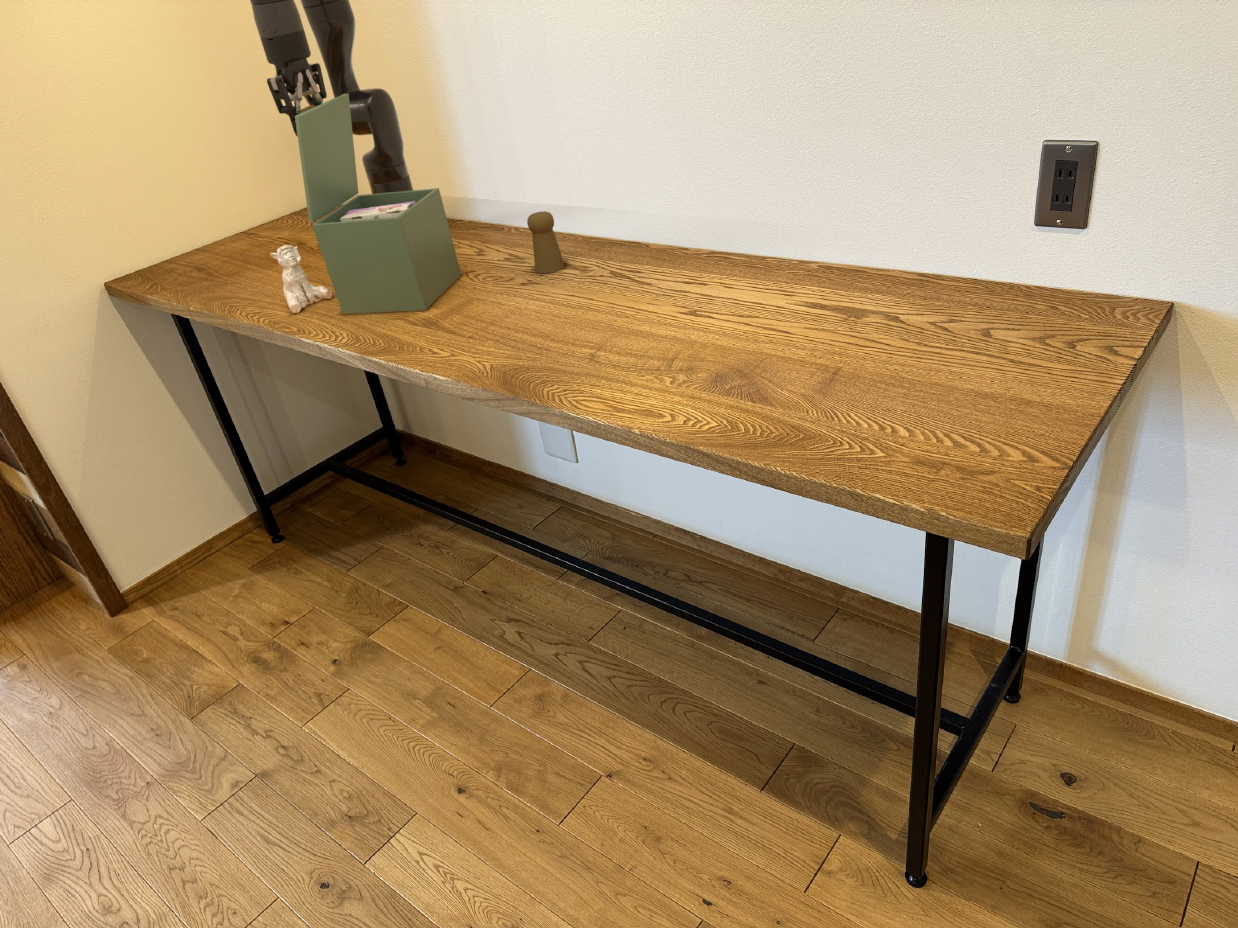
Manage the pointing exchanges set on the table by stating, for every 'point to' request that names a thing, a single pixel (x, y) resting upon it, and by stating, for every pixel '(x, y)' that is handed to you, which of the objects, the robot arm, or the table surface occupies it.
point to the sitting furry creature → (297, 280)
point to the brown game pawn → (544, 243)
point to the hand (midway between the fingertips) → (311, 130)
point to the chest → (389, 254)
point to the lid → (327, 155)
